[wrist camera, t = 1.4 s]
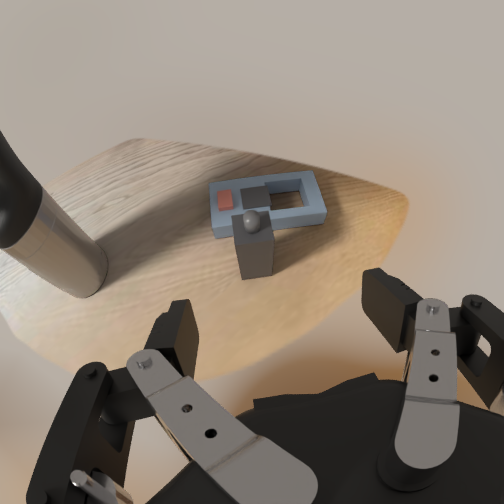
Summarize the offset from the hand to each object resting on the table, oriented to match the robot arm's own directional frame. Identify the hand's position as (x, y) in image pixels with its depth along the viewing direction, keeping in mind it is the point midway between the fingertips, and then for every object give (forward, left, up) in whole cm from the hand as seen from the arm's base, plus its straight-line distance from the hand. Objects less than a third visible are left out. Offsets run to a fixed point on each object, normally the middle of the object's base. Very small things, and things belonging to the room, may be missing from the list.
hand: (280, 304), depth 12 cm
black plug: (0, +12, -22) cm, 25 cm away
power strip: (+3, +21, -22) cm, 30 cm away
